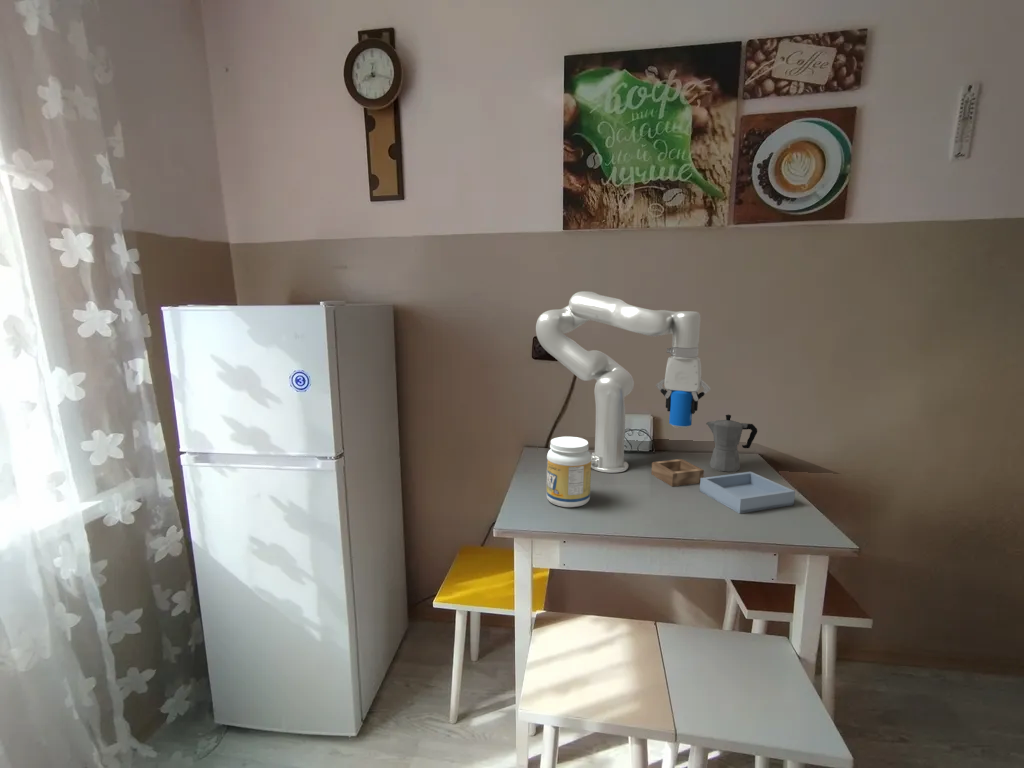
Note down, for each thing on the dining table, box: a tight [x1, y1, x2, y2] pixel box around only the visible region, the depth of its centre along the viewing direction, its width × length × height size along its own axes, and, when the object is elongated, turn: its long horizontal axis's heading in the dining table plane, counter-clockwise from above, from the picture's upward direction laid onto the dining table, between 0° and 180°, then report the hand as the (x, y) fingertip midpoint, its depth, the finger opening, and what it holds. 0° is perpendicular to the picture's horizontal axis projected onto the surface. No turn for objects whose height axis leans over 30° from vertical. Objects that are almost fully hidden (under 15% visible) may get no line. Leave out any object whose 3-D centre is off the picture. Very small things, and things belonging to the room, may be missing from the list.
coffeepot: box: [705, 414, 758, 473], centre depth 165 cm, size 15×9×18 cm, turn 67°
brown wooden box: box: [651, 458, 705, 487], centre depth 157 cm, size 11×11×4 cm
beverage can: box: [668, 391, 693, 429], centre depth 153 cm, size 6×6×12 cm
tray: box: [699, 471, 796, 514], centre depth 142 cm, size 18×16×4 cm
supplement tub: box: [545, 436, 592, 508], centre depth 139 cm, size 12×12×17 cm
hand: (681, 411), depth 153 cm, fingers closed on beverage can, 6 cm apart
